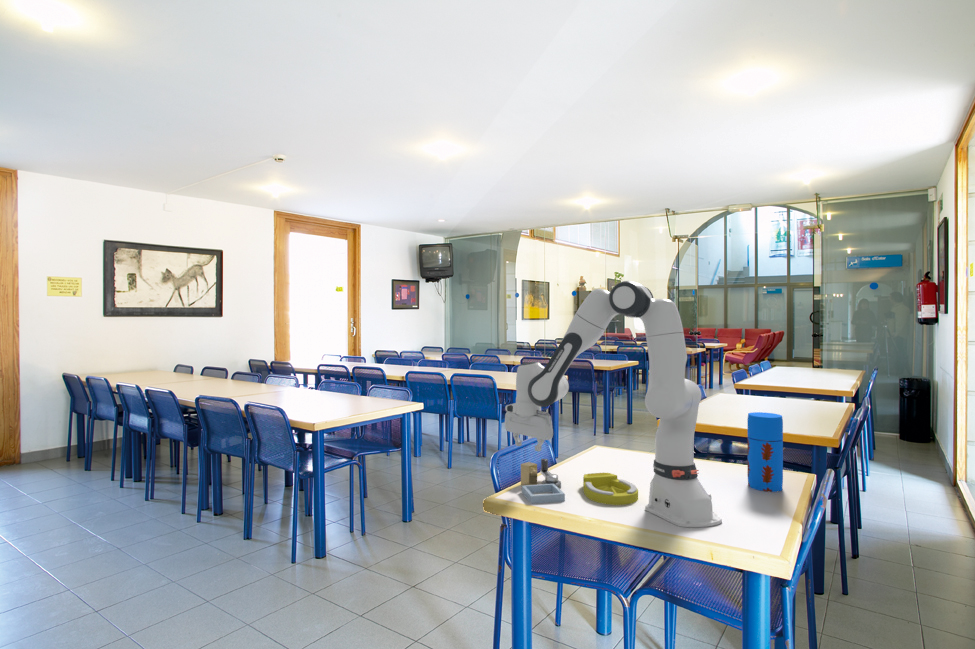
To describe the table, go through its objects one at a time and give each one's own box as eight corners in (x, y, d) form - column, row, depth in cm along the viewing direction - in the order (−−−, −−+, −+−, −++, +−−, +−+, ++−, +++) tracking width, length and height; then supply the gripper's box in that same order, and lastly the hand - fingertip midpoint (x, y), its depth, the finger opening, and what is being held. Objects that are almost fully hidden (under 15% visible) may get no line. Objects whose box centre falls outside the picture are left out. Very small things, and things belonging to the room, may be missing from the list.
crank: (559, 483, 181) (559, 466, 181) (547, 483, 180) (547, 467, 180) (549, 473, 192) (549, 458, 192) (537, 474, 191) (537, 459, 191)
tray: (564, 503, 168) (564, 493, 168) (531, 505, 166) (531, 496, 166) (553, 492, 179) (553, 483, 179) (521, 494, 177) (521, 485, 177)
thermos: (750, 490, 180) (750, 416, 180) (745, 481, 190) (744, 411, 190) (786, 493, 177) (786, 418, 176) (779, 484, 187) (779, 413, 187)
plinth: (563, 491, 180) (563, 484, 180) (519, 494, 177) (519, 487, 177) (557, 485, 186) (557, 478, 186) (514, 488, 183) (514, 481, 183)
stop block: (537, 487, 185) (537, 464, 185) (529, 489, 182) (529, 466, 182) (528, 484, 188) (528, 461, 188) (520, 486, 185) (520, 463, 185)
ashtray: (617, 485, 187) (617, 471, 187) (647, 505, 167) (647, 489, 167) (573, 489, 184) (573, 474, 184) (598, 510, 163) (598, 493, 163)
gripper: (557, 411, 179) (556, 452, 180) (514, 403, 195) (514, 441, 195) (544, 413, 175) (544, 455, 175) (502, 405, 190) (501, 444, 191)
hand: (528, 448), depth 185 cm, fingers open, 8 cm apart
